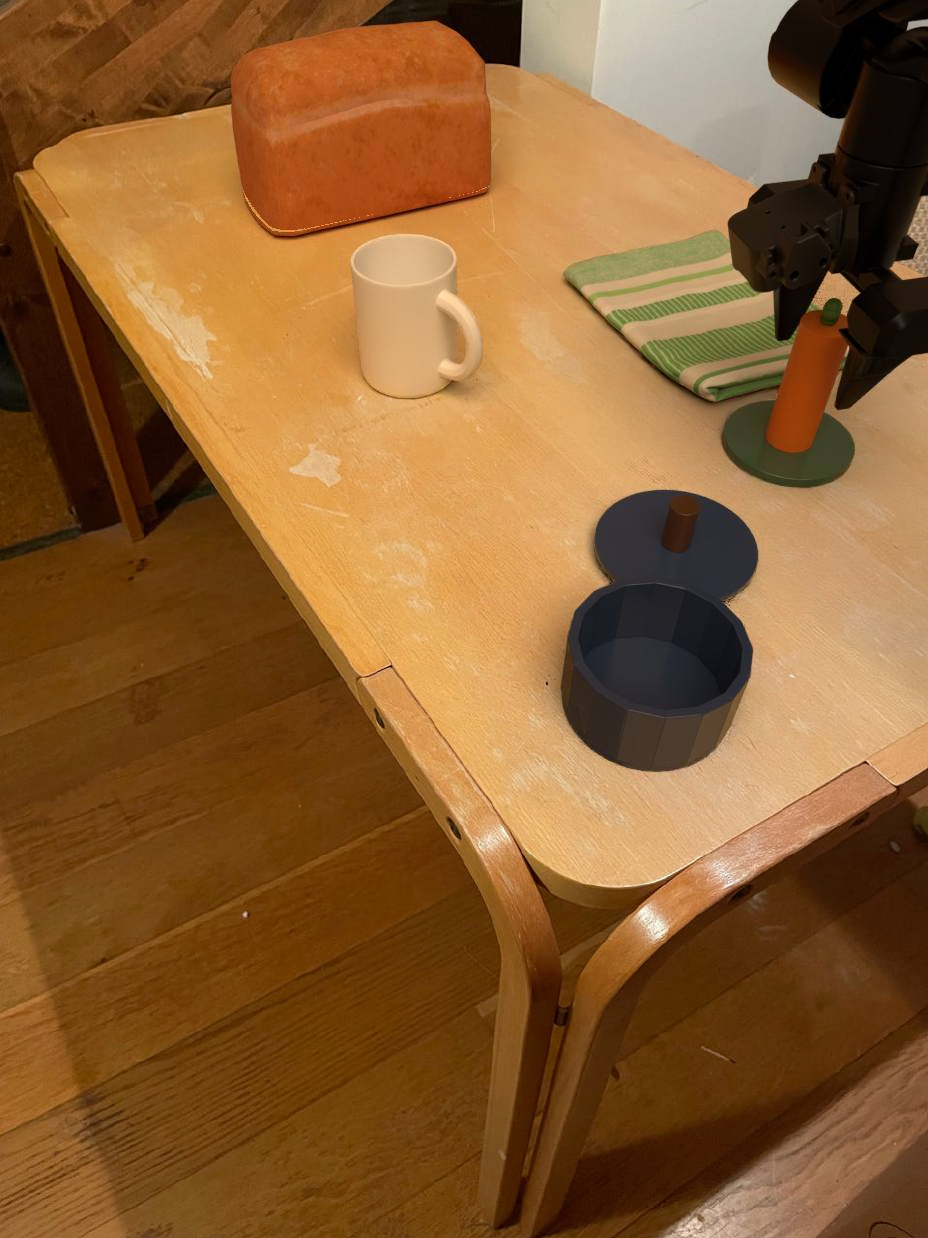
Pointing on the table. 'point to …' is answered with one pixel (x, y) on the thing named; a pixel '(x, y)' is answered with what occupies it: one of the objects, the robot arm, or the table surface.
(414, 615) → the table surface
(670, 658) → the pot
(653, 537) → the lid
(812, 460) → the saucer
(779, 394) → the carrot
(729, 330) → the dish towel
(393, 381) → the mug
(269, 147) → the bread
